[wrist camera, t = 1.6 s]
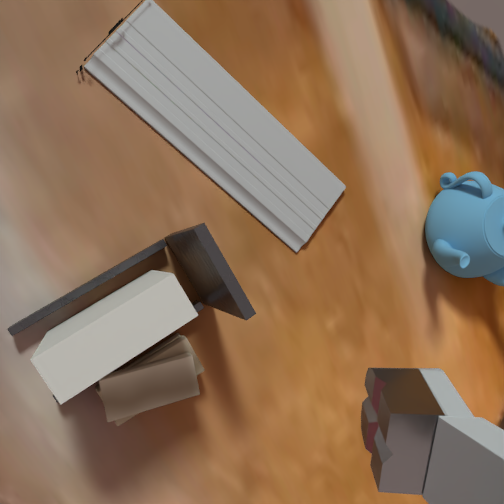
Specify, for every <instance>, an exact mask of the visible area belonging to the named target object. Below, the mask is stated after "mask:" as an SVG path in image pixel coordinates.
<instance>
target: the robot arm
mask: <svg viewBox="0 0 504 504" xmlns="http://www.w3.org/2000/svg"><path fill="white" fill-rule="evenodd" d="M365 387H366V390H367V393H368V397H367V398H366V399H365V400H364V401H363V402H362V411H361V430H362V436H363V441H364V445H365V448H366V449H367V450H368V451H369V452H370V453H372V457H371V464H370V465H371V469H372V472H373V475H374V479H375V482H376V485H377V489H378V492H388V493H403V494H417V495H423V498H424V499H425V500H426V501H427V502H428V503H429V504H504V430H502V429H501V428H499V427H497V426H495V425H494V424H492V423H490V422H489V421H487V420H485V419H484V418H478V417H474V416H473V414H472V413H471V411H470V410H469V408H468V407H467V405H466V404H465V402H464V401H463V399H462V398H461V396H460V395H459V393H458V392H457V390H456V389H455V388H454V386H453V385H452V383H451V382H450V380H449V379H448V377H447V376H446V374H445V373H444V371H443V370H441V369H439V368H368V370H367V373H366V379H365Z"/></svg>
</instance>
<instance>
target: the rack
mask: <svg viewBox="0 0 504 504" xmlns="http://www.w3.org/2000/svg"><path fill="white" fill-rule="evenodd" d="M165 239H166V241H167V243H168V245H169V246H170V248H171V250H172V251H173V253H174V255H175V256H176V258H177V260H178V261H179V263H180V265H181V267H182V268H183V270H184V272H185V273H186V275H187V277H188V278H189V280H190V282H191V283H192V285H193V287H194V288H195V290H196V292H197V294H198V295H199V297H200V299H201V300H202V302H203V304H205V305H208V306H211V307H213V308H216V309H218V310H221V311H224V312H226V313H229V314H231V315H234V316H236V317H239V318H242V319H244V320H248V319H249V318H251V317H252V316H253V315H255V314H256V313H255V311H254V309H253V307H252V306H251V304H250V302H249V300H248V299H247V297H246V295H245V293H244V292H243V290H242V288H241V286H240V285H239V283H238V281H237V279H236V278H235V276H234V274H233V272H232V271H231V269H230V267H229V265H228V264H227V262H226V260H225V258H224V257H223V255H222V253H221V251H220V250H219V248H218V246H217V244H216V243H215V241H214V239H213V237H212V236H211V234H210V232H209V230H208V229H207V227H206V225H205V223H202V224H199V225H196V226H193V227H190V228H187V229H184V230H181V231H178V232H175V233H172V234H170V235H168V236H167V237H165ZM166 246H167V245H166V243H165V241H164V240H163V239H162V240H160V241H158V242H156V243H154V244H153V245H151V246H149V247H147V248H146V249H144V250H142V251H140V252H139V253H137V254H135V255H134V256H132V257H130V258H128V259H127V260H125V261H123V262H121V263H120V264H118V265H116V266H114V267H113V268H111V269H109V270H107V271H106V272H104V273H102V274H100V275H99V276H97V277H95V278H93V279H92V280H90V281H88V282H87V283H85V284H83V285H81V286H80V287H78V288H76V289H74V290H73V291H71V292H69V293H67V294H66V295H64V296H62V297H60V298H59V299H57V300H55V301H53V302H52V303H50V304H48V305H46V306H45V307H43V308H41V309H40V310H38V311H36V312H34V313H33V314H31V315H29V316H27V317H26V318H24V319H22V320H20V321H19V322H17V323H15V324H13V325H12V326H10V327H9V328H8V331H9V332H10V334H11V335H12V336H13V335H15V334H16V333H18V332H20V331H21V330H23V329H25V328H27V327H28V326H30V325H32V324H33V323H35V322H37V321H39V320H40V319H42V318H44V317H46V316H47V315H49V314H51V313H52V312H54V311H56V310H58V309H59V308H61V307H63V306H64V305H66V304H68V303H70V302H71V301H73V300H75V299H76V298H78V297H80V296H82V295H83V294H85V293H87V292H89V291H90V290H92V289H94V288H95V287H97V286H99V285H101V284H102V283H104V282H106V281H107V280H109V279H111V278H113V277H114V276H116V275H118V274H119V273H121V272H123V271H125V270H126V269H128V268H130V267H131V266H133V265H135V264H137V263H138V262H140V261H142V260H144V259H145V258H147V257H149V256H150V255H152V254H154V253H156V252H157V251H159V250H161V249H162V248H164V247H166ZM191 304H192V305H193V307H194V309H195V310H196V312H198V311H200V310H201V309H203V308H204V307H203V305H202V304H201V302H200V301H197V300H196V301H194V302H193V303H191ZM53 397H54V399H55V400H56V402H57V403H58V400H57V399H56V397H55V396H54V394H53Z"/></svg>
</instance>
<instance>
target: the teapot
mask: <svg viewBox="0 0 504 504" xmlns="http://www.w3.org/2000/svg"><path fill="white" fill-rule="evenodd" d="M449 179H450V180H449ZM470 179H472V180H474V181H467V180H470ZM450 181H451V182H450ZM440 185H441V187H442V188H443V189H444V190H442V191H441V192H440V193H439V194H438V195H437V196H436V198H435V199H434V200H433V202H432V204H431V206H430V208H429V211H428V214H427V218H426V223H425V234H426V240H427V244H428V247H429V249H430V252H431V253H432V255H433V257H434V259H435V260H436V262H437V263H438V264H439V265H440V266H441V267H442V268H443V269H444V270H445V271H447V272H449V273H450V274H452V275H455V276H457V277H462V278H474V277H481V276H483V277H484V278H486V279H487V280H488V281H490V282H492V283H494V284H496V285H499V286H504V189H502V188H500V187H498V186H495V185H492V184H491V182H490V180H489V179H488V178H487V177H486V176H485V175H484V174H483V173H481V172H470V173H467V174H465V175H463V176H461V177H460V178H458V179H457V180H456V176H455V175H454V174H453V173H445V174H443V175H442V176H441V178H440Z"/></svg>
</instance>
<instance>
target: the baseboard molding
mask: <svg viewBox="0 0 504 504" xmlns="http://www.w3.org/2000/svg"><path fill="white" fill-rule="evenodd" d="M142 1H143V0H142ZM142 1H141V2H142ZM141 2H140V3H141ZM140 3H139V4H140ZM139 4H138V5H139ZM138 5H137V6H138ZM137 6H136V7H137ZM136 7H135V8H136ZM135 8H134V9H135ZM134 9H133V10H134ZM133 10H132V11H133ZM132 11H131V12H132ZM131 12H130V13H131ZM130 13H129V14H130ZM129 14H128V15H129ZM128 15H127V16H128ZM127 16H126V17H127ZM126 17H125V18H126ZM125 18H124V19H125ZM122 19H123V18H121V20H119V22H118V23H117V24H116V25H115V26H114V27H113V28H112V29H111V30H110V31H109V35H110V34H111V33H112V32H113V31H114V30H115V29H116V28H117V27H118V26H119V25H120V23H121V22H122V21H123V20H122ZM118 24H119V25H118ZM116 26H117V27H116ZM112 30H113V31H112ZM111 31H112V32H111ZM109 35H108V36H109ZM108 36H107V37H108ZM107 37H106V38H107ZM106 38H105V39H106ZM105 39H104V40H105ZM104 40H103V41H104ZM103 41H102V42H103ZM102 42H101V43H102ZM101 43H100V44H101ZM100 44H99V45H100ZM99 45H98V46H99ZM98 46H97V47H98ZM97 47H96V48H97ZM96 48H95V49H96ZM95 49H94V50H95ZM94 50H93V51H94ZM93 51H92V52H93ZM88 57H89V56H88ZM88 57H87V58H88ZM87 58H85V59H84V61H86V59H87ZM84 68H85V69H86V70H87V71H88V72H89V73H91V74H92V75H93V76H94V77H95V78H96V79H97V80H99V81H100V82H101V83H102V84H103V85H104V86H105V87H107V88H108V89H109V90H110V91H111V92H112V93H113V94H115V95H116V96H117V97H118V98H119V99H120V100H121V101H123V102H124V103H125V104H126V105H127V106H128V107H129V108H131V109H132V110H133V111H134V112H135V113H136V114H138V115H139V116H140V117H141V118H142V119H143V120H144V121H146V122H147V123H148V124H149V125H150V126H151V127H152V128H154V129H155V130H156V131H157V132H158V133H159V134H160V135H162V136H163V137H164V138H165V139H166V140H167V141H168V142H170V143H171V144H172V145H173V146H174V147H175V148H176V149H178V150H179V151H180V152H181V153H182V154H183V155H185V156H186V157H187V158H188V159H189V160H190V161H191V162H193V163H194V164H195V165H196V166H197V167H198V168H199V169H201V170H202V171H203V172H204V173H205V174H206V175H207V176H209V177H210V178H211V179H212V180H213V181H214V182H215V183H217V184H218V185H219V186H220V187H221V188H222V189H223V190H225V191H226V192H227V193H228V194H229V195H230V196H232V197H233V198H234V199H235V200H236V201H237V202H238V203H240V204H241V205H242V206H243V207H244V208H245V209H246V210H248V211H249V212H250V213H251V214H252V215H253V216H254V217H256V218H257V219H258V220H259V221H260V222H261V223H262V224H264V225H265V226H266V227H267V228H268V229H269V230H271V231H272V232H273V233H274V234H275V235H276V236H277V237H279V238H280V239H281V240H282V241H283V242H284V243H285V244H287V245H288V246H289V247H290V248H291V249H292V250H293V251H295V252H296V253H297V252H298V250H299V249H300V248H301V247H302V246H303V245H304V244H305V243H306V242H307V241H308V239H309V238H310V236H311V235H312V233H313V232H314V231H315V229H316V228H317V226H318V225H319V223H320V222H321V221H322V220H323V218H324V217H325V215H326V214H327V212H328V211H329V210H330V209H331V207H332V206H333V204H334V203H335V202H336V200H337V199H338V197H339V196H340V195H341V193H342V192H343V190H344V189H345V188H346V186H345V185H344V184H343V183H342V182H341V181H340V180H339V179H338V178H337V177H336V176H335V175H334V174H332V173H331V172H330V171H329V170H328V169H327V168H326V167H325V166H324V165H323V164H322V163H321V162H320V161H319V160H318V159H317V158H316V157H315V156H314V155H313V154H312V153H311V152H310V151H309V150H308V149H307V148H305V147H304V146H303V145H302V144H301V143H300V142H299V141H298V140H297V139H296V138H295V137H294V136H293V135H292V134H291V133H290V132H289V131H288V130H287V129H286V128H285V127H284V126H283V125H282V124H281V123H279V122H278V121H277V120H276V119H275V118H274V117H273V116H272V115H271V114H270V113H269V112H268V111H267V110H266V109H265V108H264V107H263V106H262V105H261V104H260V103H259V102H258V101H257V100H256V99H255V98H254V97H252V96H251V95H250V94H249V93H248V92H247V91H246V90H245V89H244V88H243V87H242V86H241V85H240V84H239V83H238V82H237V81H236V80H235V79H234V78H233V77H232V76H231V75H230V74H229V73H228V72H226V71H225V70H224V69H223V68H222V67H221V66H220V65H219V64H218V63H217V62H216V61H215V60H214V59H213V58H212V57H211V56H210V55H209V54H208V53H207V52H206V51H205V50H204V49H203V48H202V47H200V46H199V45H198V44H197V43H196V42H195V41H194V40H193V39H192V38H191V37H190V36H189V35H188V34H187V33H186V32H185V31H184V30H183V29H182V28H181V27H180V26H179V25H178V24H177V23H176V22H175V21H173V20H172V19H171V18H170V17H169V16H168V15H167V14H166V13H165V12H164V11H163V10H162V9H161V8H160V7H159V6H158V5H157V4H156V3H155V2H154V1H153V0H145V2H144V3H143V4H142V5H141V6H140V7H139V8H138V9H137V10H136V11H135V12H134V13H133V14H132V15H131V16H130V17H129V18H128V19H127V20H126V21H125V23H124V24H123V25H122V26H121V27H119V28H118V29H117V30H116V32H115V33H114V34H113V35H112V36H111V37H110V38H109V39H108V40H107V41H106V42H105V43H104V44H103V45H102V46H101V47H100V48H99V49H98V50H97V51H96V52H95V53H94V54H93V56H92V58H91V59H90V61H89V62H88V63H87V64H86V65H85V66H84ZM81 70H82V65H81V66H80V71H81ZM78 71H79V70H78ZM78 71H76V73H77V75H78Z"/></svg>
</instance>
